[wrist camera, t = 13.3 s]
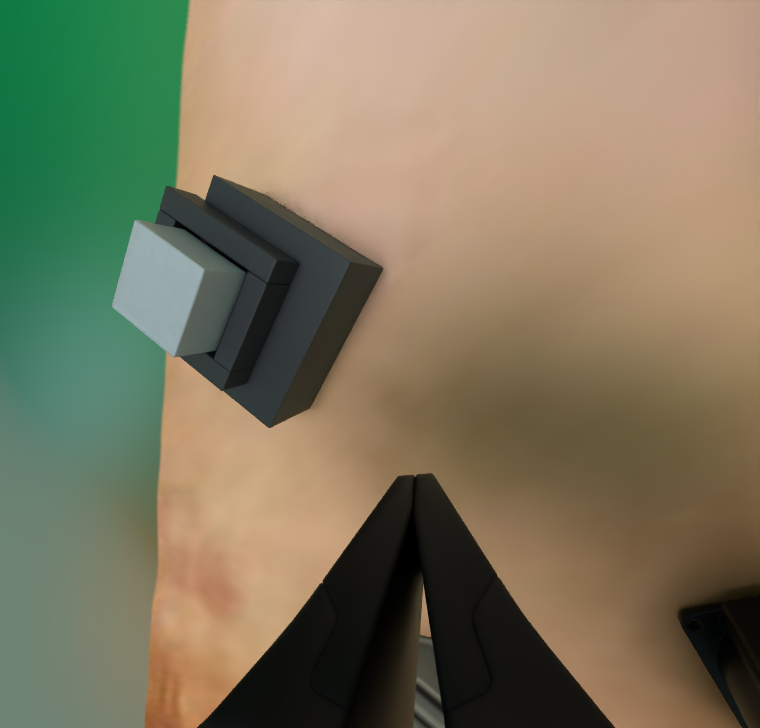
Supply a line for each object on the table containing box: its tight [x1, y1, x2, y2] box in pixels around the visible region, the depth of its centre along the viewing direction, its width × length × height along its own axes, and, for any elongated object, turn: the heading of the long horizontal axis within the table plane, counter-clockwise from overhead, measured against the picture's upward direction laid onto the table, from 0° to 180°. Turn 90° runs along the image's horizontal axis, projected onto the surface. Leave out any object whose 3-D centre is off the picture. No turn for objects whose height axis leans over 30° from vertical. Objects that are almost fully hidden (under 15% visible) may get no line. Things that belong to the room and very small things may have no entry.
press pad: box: [112, 220, 247, 357], centre depth 18 cm, size 4×4×2 cm
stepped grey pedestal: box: [155, 175, 383, 428], centre depth 21 cm, size 10×10×6 cm
